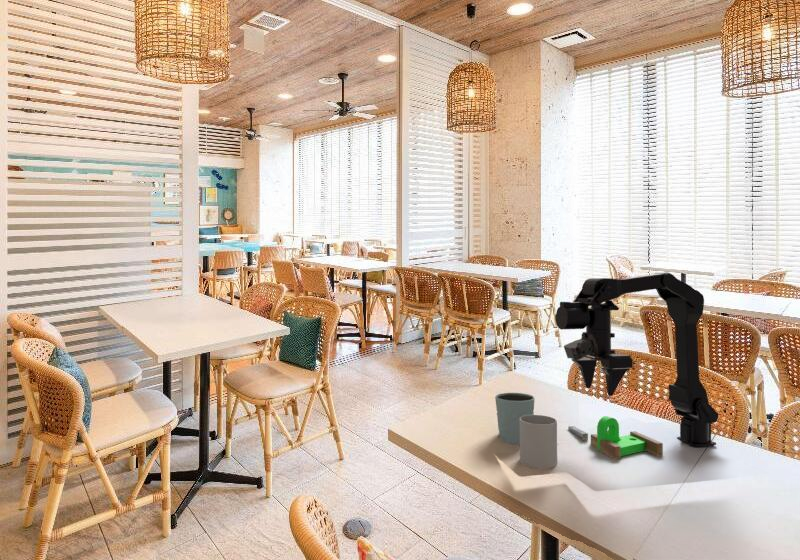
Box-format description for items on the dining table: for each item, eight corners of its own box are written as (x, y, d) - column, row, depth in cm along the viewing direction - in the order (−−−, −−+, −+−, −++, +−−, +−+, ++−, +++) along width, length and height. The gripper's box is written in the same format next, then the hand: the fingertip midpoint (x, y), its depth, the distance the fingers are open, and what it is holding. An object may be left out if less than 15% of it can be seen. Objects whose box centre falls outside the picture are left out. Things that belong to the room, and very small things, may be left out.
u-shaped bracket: (572, 434, 137) (572, 425, 137) (589, 444, 129) (589, 434, 129) (532, 437, 134) (532, 428, 134) (546, 447, 127) (546, 437, 127)
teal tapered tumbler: (539, 448, 126) (538, 400, 126) (499, 448, 126) (499, 400, 126) (529, 435, 136) (529, 392, 136) (492, 435, 136) (492, 392, 136)
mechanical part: (617, 456, 119) (617, 423, 119) (597, 449, 124) (597, 417, 124) (650, 449, 124) (650, 417, 124) (629, 442, 130) (629, 411, 130)
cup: (557, 458, 119) (557, 416, 119) (556, 470, 111) (556, 426, 111) (521, 454, 121) (521, 413, 122) (518, 466, 114) (517, 422, 114)
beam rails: (635, 442, 130) (635, 431, 130) (662, 455, 120) (662, 443, 120) (590, 446, 127) (590, 434, 127) (615, 459, 118) (614, 446, 118)
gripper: (549, 326, 130) (550, 385, 130) (590, 333, 112) (591, 402, 112) (588, 325, 133) (588, 383, 133) (634, 331, 114) (634, 399, 114)
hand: (598, 391), depth 123 cm, fingers open, 9 cm apart
